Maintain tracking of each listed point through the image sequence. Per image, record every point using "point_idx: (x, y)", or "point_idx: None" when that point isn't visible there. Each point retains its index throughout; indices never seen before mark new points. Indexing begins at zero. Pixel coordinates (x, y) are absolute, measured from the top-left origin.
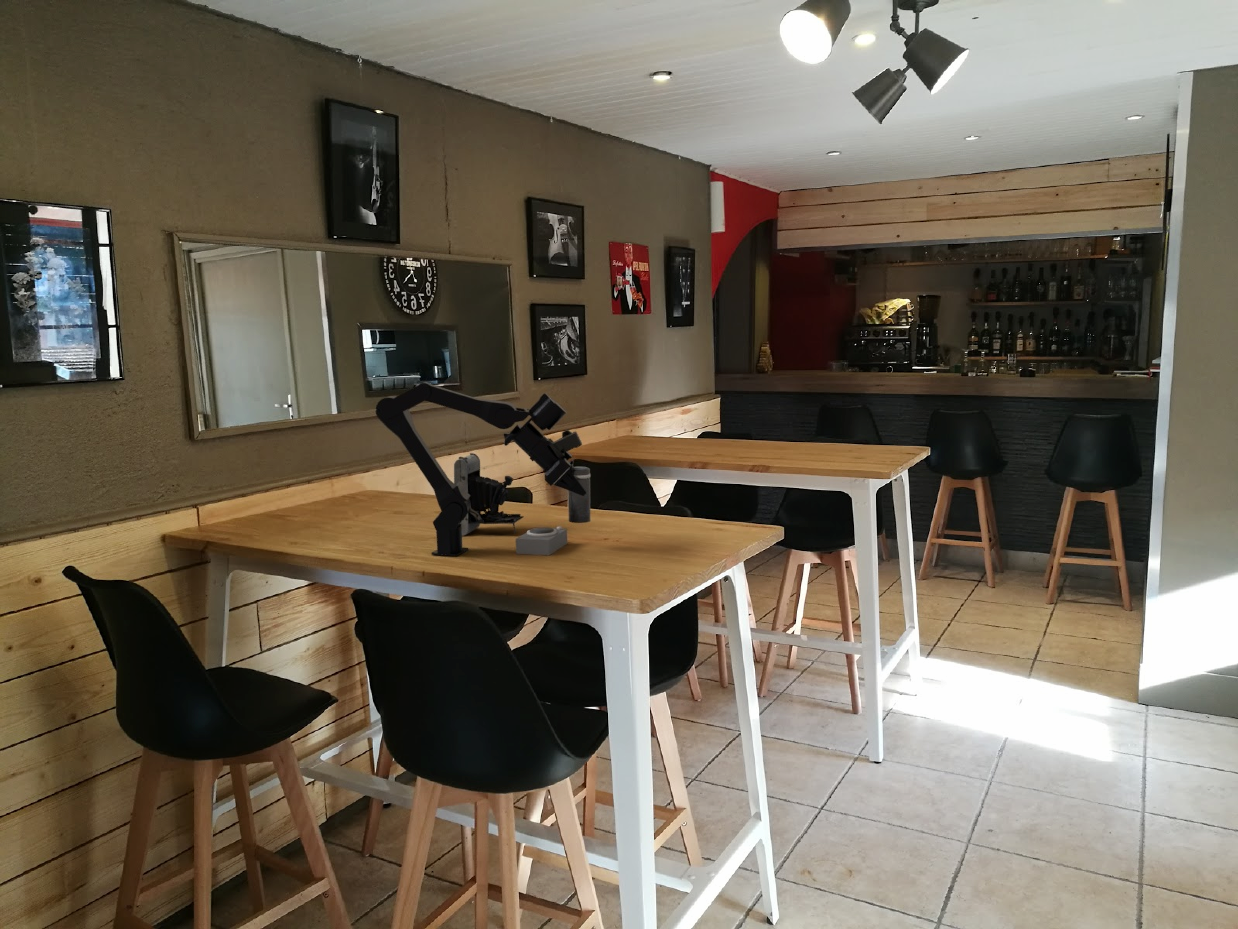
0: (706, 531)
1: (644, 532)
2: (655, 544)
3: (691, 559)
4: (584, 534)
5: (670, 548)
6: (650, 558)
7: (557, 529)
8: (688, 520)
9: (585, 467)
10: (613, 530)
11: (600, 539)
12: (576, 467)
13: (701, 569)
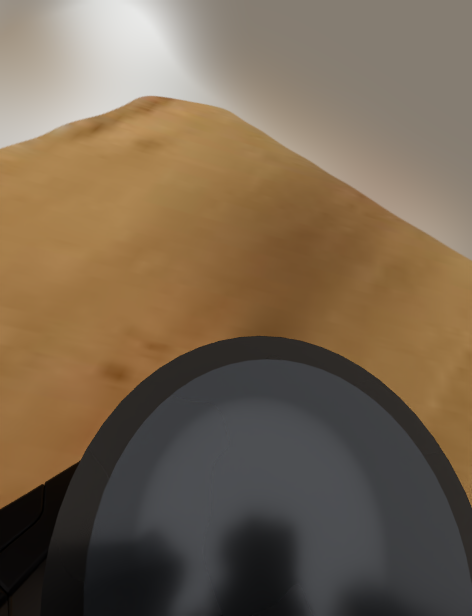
0: (155, 163)
1: (92, 260)
2: (236, 273)
3: (388, 251)
4: (2, 429)
5: (285, 257)
6: (374, 319)
7: None
8: (27, 156)
9: (269, 391)
10: (11, 325)
11: (113, 391)
12: (218, 595)
13: (467, 259)
